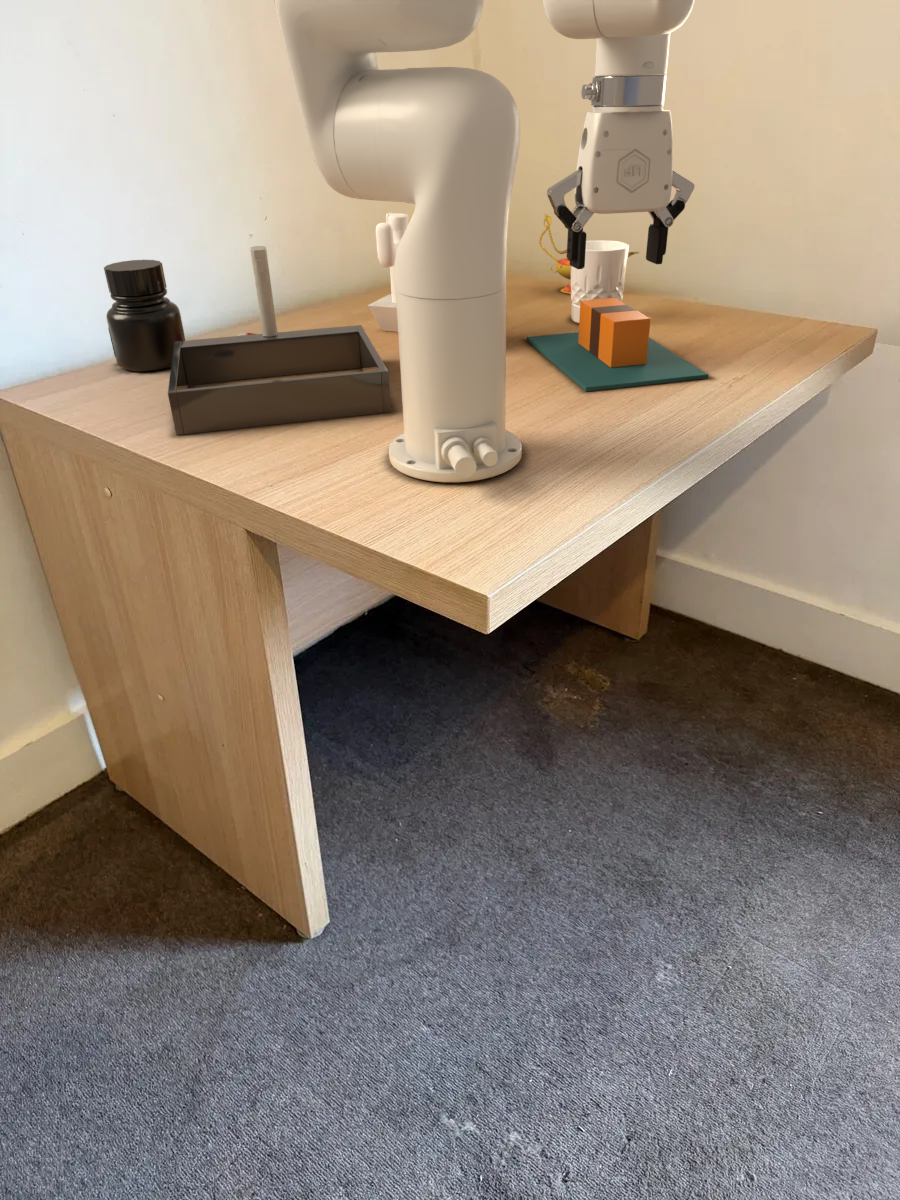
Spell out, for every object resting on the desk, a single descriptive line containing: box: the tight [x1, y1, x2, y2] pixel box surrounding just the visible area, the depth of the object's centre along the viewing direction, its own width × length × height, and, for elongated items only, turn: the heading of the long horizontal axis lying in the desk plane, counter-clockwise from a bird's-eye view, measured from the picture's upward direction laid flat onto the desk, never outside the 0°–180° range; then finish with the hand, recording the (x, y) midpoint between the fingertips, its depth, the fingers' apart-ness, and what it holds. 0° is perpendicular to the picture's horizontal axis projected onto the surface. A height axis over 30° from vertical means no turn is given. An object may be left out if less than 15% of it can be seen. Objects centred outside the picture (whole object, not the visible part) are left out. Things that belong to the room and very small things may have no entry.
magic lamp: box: [538, 213, 641, 295], centre depth 136 cm, size 7×18×11 cm, turn 52°
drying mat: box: [526, 331, 709, 392], centre depth 108 cm, size 22×15×1 cm
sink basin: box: [167, 245, 392, 436], centre depth 96 cm, size 20×23×15 cm
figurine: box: [366, 211, 410, 333], centre depth 119 cm, size 7×9×15 cm
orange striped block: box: [578, 298, 651, 368], centre depth 106 cm, size 11×5×5 cm, turn 13°
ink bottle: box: [103, 259, 186, 372], centre depth 109 cm, size 10×9×12 cm
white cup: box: [570, 239, 630, 324], centre depth 121 cm, size 8×8×10 cm
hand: (615, 264), depth 102 cm, fingers open, 9 cm apart
